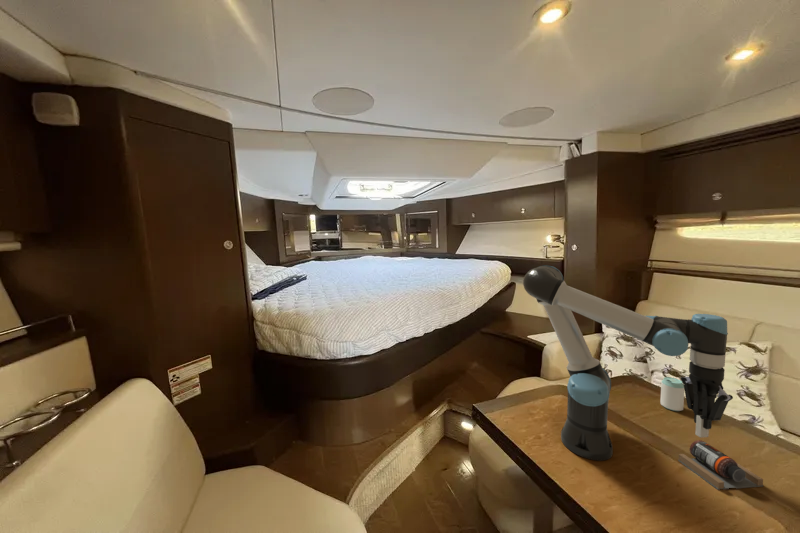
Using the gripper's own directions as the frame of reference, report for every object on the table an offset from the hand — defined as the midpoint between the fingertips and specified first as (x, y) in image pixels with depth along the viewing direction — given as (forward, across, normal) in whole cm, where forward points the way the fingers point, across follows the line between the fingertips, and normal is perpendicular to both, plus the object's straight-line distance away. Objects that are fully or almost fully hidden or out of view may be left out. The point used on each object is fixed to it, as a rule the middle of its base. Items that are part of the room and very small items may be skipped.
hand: (701, 435), depth 92 cm
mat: (+8, -5, 0) cm, 10 cm away
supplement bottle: (+5, +2, 0) cm, 5 cm away
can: (+9, +28, -20) cm, 35 cm away
